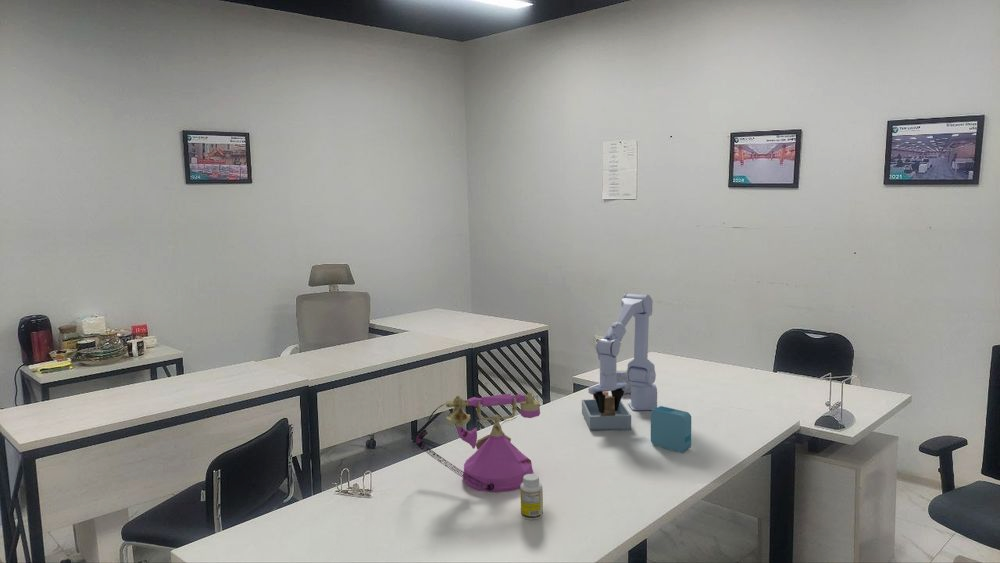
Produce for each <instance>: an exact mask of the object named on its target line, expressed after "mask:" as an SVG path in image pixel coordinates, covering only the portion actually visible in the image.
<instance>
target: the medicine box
mask: <svg viewBox="0 0 1000 563" xmlns="http://www.w3.org/2000/svg"><path fill="white" fill-rule="evenodd" d="M626 371H627V369H626V370H622V369H621V370H616V374H617V383H623V382H625V383H627V384H628V389H622V390H623V391H624V394H631V384H629V381H628V380H627V378H626Z"/></svg>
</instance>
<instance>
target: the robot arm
mask: <svg viewBox="0 0 1000 563" xmlns="http://www.w3.org/2000/svg"><path fill="white" fill-rule="evenodd" d="M620 305H621V310H620V312H619V314H618V316H617V319H616V321H615V322H612V323H611V324H610V325H609V328H608V329H607V331H606V333H605V335H604V337H603V338H601V339H599V340H598V341H597V344H596V349H595V350H596V354H597V359H598V360H599V384H597V385H594V386H590V387H588V394H590V395H593V396H594V398H595V400H596V402H597V405H598V409H599V412H600V413H604V401H605V395H603V393H602V392H606V391H608V392H610V393H611V396H613V397H615V411H618V407H619V403H620V400H621V401H622V398H623V396H624V395H625V393H624V391H623V390H622V389H628V384H627V383H625V382H623V383H617V374H616V371H617V356H618V355H619V353H620V350H621V349H620V348H621V344H622V343H621V341H622V340H623V338H624V336H625V334H626V332H627V330H626V327H627V325H628V324H629V322H630V321H631V319H632V317H634V342H633V344H634V345H633V346H634V349H633V359H631V360H630V361H629V362H628V364H627V368H626V370H627V371H626V378H627V380H628V381H629V384H631V393H630V402H628V403H627V404H628V406H629V407H630V408H631V410H632V411H652V410H653V409H655V408H657V407H658V388H657V385H656V384H655V381H656V376H657V374H656V369H655V364H654V363H653V362H652V361H650V359H648V356H649V355H648V353H649V351H648V350H649V328H650V327H649V323H650V322H649V321H650V319H649V318H650V317H651V316H652V315H653V305H654V304H653V298H652V297H651V295H650V294H638V293H637V294H636V293H628V292H626V293H624V294H623V296H622V297H621V302H620Z"/></svg>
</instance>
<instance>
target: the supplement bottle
mask: <svg viewBox="0 0 1000 563" xmlns="http://www.w3.org/2000/svg"><path fill="white" fill-rule="evenodd" d="M519 489H520V493H519V494H520V515H521V517H522V518H524V519H525V520H528V521H536V520H539V519H541V518H542V517H543V514H544V506H543V504H544V502H543V501H544V499H543V495H544V494H543V492H544V491H543V485H542V483H541V482H540V476H539V475H538V474H536V473H534V474H526V475H524V477H523V483H522V484H521V486H520V488H519Z"/></svg>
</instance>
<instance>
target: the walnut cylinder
mask: <svg viewBox="0 0 1000 563" xmlns="http://www.w3.org/2000/svg"><path fill="white" fill-rule="evenodd" d="M601 416H615V397H613V396H612V395H608V396H605V401H604V413H601Z"/></svg>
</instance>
